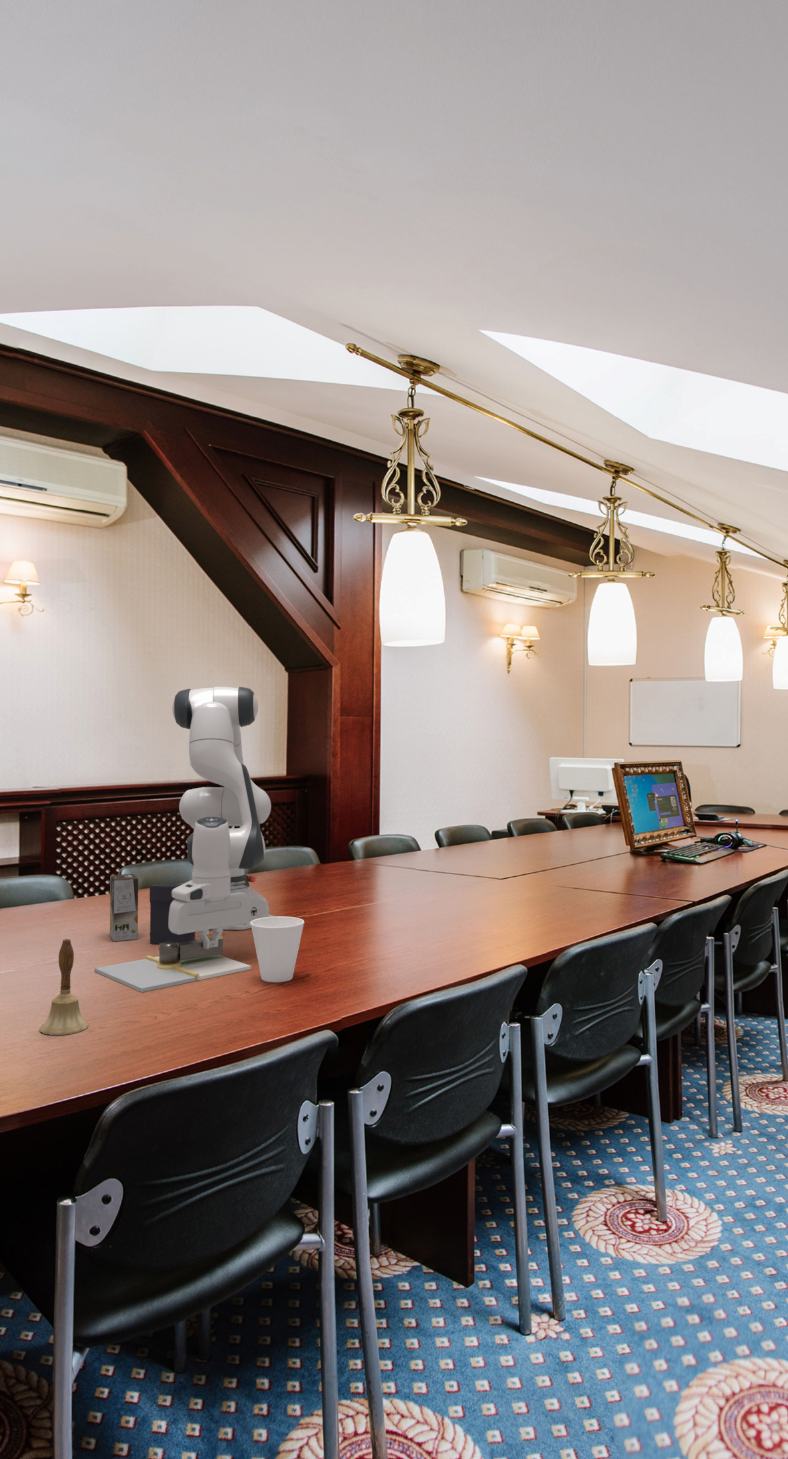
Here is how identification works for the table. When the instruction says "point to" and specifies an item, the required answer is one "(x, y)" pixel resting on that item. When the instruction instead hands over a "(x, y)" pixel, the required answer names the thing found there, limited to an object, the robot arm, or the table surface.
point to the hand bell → (65, 1000)
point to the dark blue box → (163, 915)
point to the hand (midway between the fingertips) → (210, 947)
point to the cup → (277, 946)
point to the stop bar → (186, 950)
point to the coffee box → (123, 907)
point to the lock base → (169, 971)
